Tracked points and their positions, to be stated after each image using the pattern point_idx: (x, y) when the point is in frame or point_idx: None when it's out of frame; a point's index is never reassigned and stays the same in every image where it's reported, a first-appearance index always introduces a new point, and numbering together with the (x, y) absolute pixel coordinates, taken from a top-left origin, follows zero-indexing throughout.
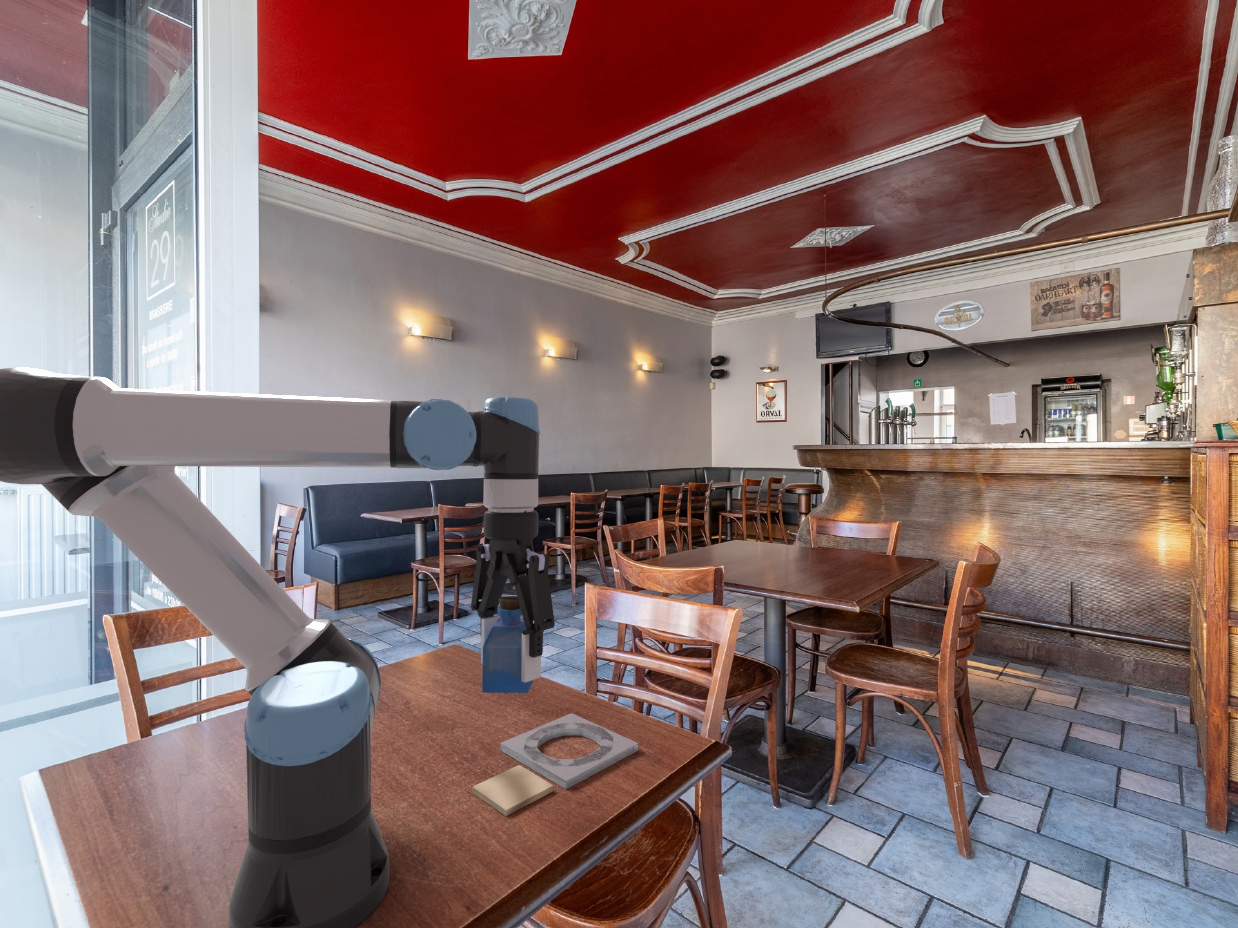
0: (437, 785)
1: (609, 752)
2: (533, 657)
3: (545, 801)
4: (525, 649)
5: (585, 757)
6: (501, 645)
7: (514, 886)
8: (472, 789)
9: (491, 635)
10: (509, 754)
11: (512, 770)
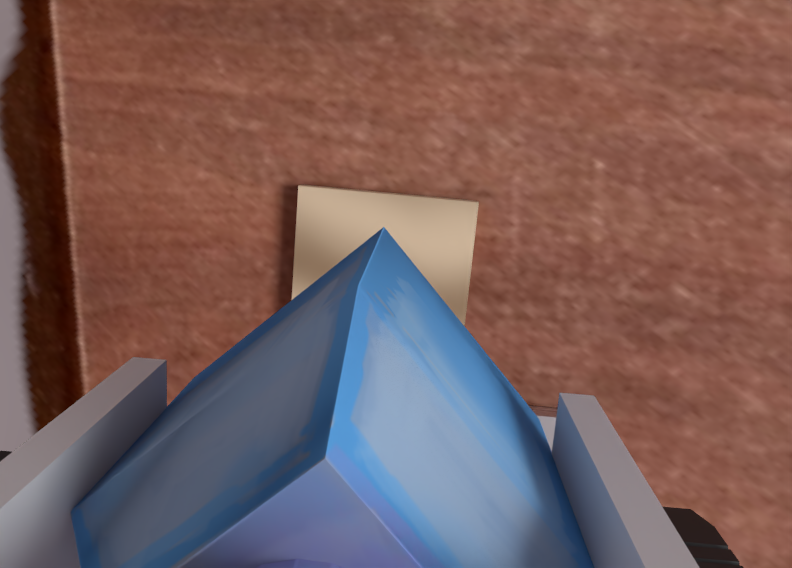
0: (599, 155)
1: None
2: (2, 451)
3: (270, 302)
4: (21, 450)
5: None
6: (236, 391)
7: (56, 7)
8: (476, 201)
9: (317, 389)
10: (551, 409)
11: None
